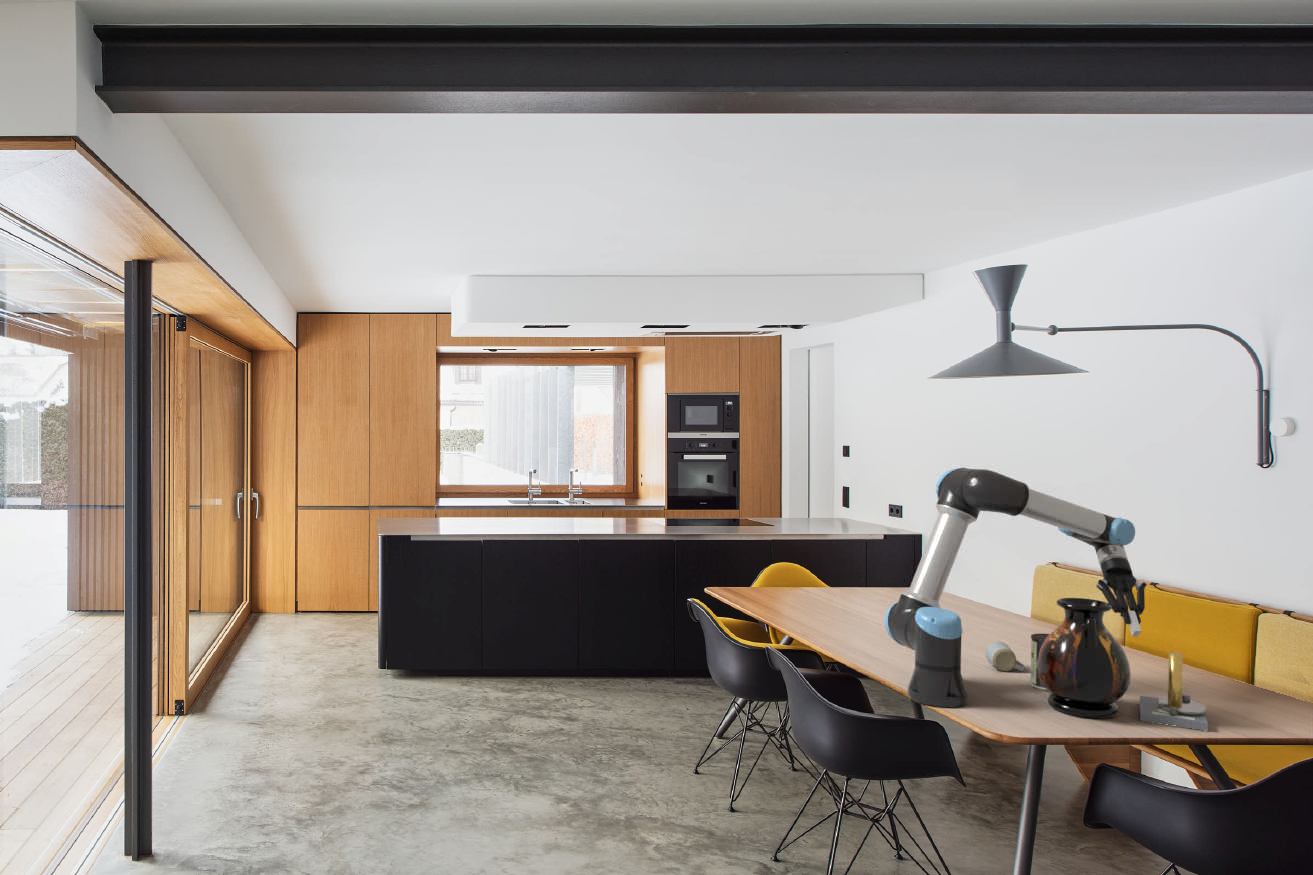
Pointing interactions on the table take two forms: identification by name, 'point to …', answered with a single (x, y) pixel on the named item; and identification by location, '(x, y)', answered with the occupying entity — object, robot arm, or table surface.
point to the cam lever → (1178, 690)
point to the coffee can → (1036, 659)
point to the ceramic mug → (1002, 657)
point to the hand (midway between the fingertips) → (1136, 633)
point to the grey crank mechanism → (1169, 715)
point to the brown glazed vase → (1083, 662)
